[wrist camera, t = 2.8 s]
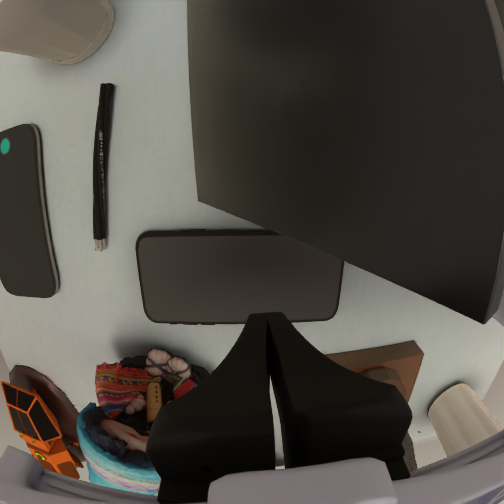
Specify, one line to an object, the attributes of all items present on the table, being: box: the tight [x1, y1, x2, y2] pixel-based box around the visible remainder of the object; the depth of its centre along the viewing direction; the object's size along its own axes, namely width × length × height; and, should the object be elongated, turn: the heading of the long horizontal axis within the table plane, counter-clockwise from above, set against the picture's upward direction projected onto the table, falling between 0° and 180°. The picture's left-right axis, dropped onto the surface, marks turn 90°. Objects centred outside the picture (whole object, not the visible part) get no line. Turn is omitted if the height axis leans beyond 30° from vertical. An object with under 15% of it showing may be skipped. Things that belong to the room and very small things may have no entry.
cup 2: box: [428, 383, 504, 457], centre depth 21 cm, size 8×8×14 cm
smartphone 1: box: [0, 124, 59, 298], centre depth 20 cm, size 8×1×15 cm
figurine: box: [77, 348, 210, 495], centre depth 18 cm, size 10×7×15 cm
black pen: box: [93, 83, 113, 251], centre depth 19 cm, size 12×1×1 cm, turn 174°
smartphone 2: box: [136, 229, 344, 325], centre depth 22 cm, size 7×1×15 cm
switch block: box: [325, 341, 424, 403], centre depth 24 cm, size 10×7×4 cm
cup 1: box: [0, 0, 114, 65], centre depth 10 cm, size 8×8×12 cm
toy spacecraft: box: [1, 366, 86, 479], centre depth 26 cm, size 12×20×6 cm, turn 173°
